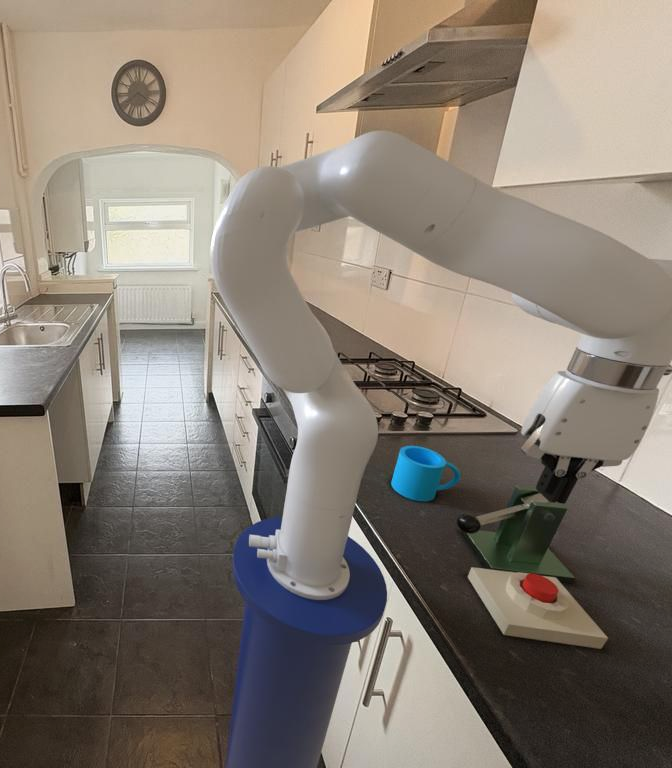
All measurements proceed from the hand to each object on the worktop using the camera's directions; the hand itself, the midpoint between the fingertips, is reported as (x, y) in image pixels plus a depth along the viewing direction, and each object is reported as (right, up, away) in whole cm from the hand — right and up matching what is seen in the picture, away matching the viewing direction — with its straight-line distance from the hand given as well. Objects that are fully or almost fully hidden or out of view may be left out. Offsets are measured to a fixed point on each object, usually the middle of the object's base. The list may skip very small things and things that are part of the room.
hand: (549, 496), depth 56 cm
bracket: (+8, -15, +15) cm, 23 cm away
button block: (+3, -19, +6) cm, 20 cm away
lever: (+5, -8, +13) cm, 16 cm away
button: (+3, -15, +5) cm, 16 cm away
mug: (+3, -8, +32) cm, 33 cm away
